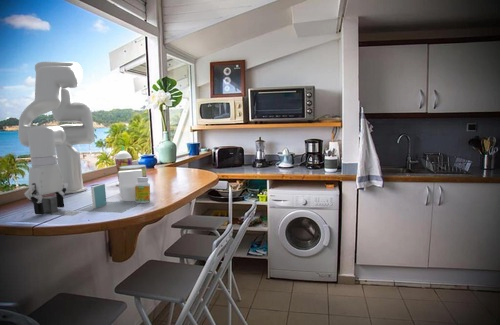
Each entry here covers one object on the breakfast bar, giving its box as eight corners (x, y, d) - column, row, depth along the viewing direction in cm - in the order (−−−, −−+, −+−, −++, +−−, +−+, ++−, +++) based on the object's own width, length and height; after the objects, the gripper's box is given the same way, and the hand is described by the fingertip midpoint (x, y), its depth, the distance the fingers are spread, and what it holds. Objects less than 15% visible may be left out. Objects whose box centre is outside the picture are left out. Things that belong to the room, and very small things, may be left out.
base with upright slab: (121, 203, 125) (118, 173, 123) (120, 198, 133) (117, 170, 131) (145, 200, 128) (142, 171, 127) (143, 196, 136) (140, 168, 135)
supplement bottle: (136, 203, 120) (136, 177, 120) (134, 202, 125) (134, 177, 125) (151, 202, 123) (151, 177, 123) (148, 201, 127) (148, 177, 127)
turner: (39, 215, 112) (37, 199, 111) (51, 211, 116) (50, 195, 116) (73, 217, 108) (71, 200, 107) (84, 213, 113) (82, 196, 112)
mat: (78, 212, 114) (77, 210, 114) (103, 203, 127) (102, 201, 126) (121, 214, 110) (121, 212, 110) (143, 204, 122) (142, 202, 122)
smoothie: (117, 182, 170) (113, 145, 167) (133, 181, 173) (130, 144, 171) (117, 185, 162) (113, 146, 160) (134, 183, 166) (131, 145, 163)
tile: (93, 208, 116) (90, 186, 115) (104, 204, 122) (102, 183, 121) (95, 208, 116) (93, 186, 115) (107, 204, 122) (105, 183, 121)
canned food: (151, 189, 149) (150, 164, 147) (141, 195, 138) (139, 168, 136) (128, 190, 150) (126, 165, 148) (116, 195, 139) (114, 168, 137)
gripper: (56, 158, 120) (61, 204, 123) (11, 165, 104) (18, 217, 106) (72, 158, 118) (77, 204, 121) (30, 165, 102) (36, 218, 104)
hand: (50, 210), depth 113 cm, fingers open, 8 cm apart
